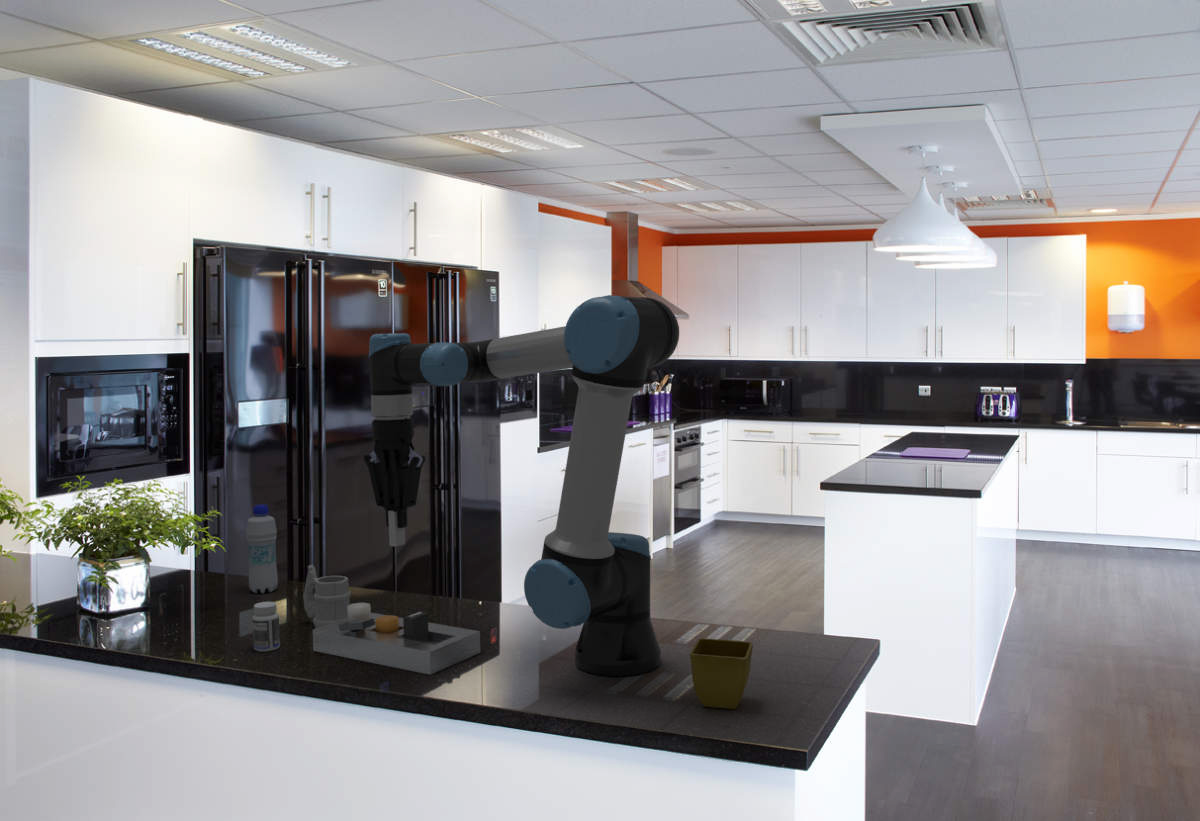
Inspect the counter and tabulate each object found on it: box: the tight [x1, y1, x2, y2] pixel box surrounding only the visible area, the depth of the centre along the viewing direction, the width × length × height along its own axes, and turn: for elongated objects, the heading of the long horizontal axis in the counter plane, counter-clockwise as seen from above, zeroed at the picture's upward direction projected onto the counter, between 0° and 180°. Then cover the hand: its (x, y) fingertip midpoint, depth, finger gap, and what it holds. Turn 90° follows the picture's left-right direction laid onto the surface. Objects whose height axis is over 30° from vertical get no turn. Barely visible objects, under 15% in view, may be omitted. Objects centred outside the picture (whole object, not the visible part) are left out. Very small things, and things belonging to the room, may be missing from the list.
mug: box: [302, 564, 352, 629], centre depth 209 cm, size 8×12×12 cm, turn 57°
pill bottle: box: [251, 601, 281, 653], centre depth 195 cm, size 5×5×8 cm
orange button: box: [376, 614, 400, 634], centre depth 193 cm, size 4×4×3 cm
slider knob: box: [402, 611, 429, 641], centre depth 189 cm, size 2×4×5 cm, turn 149°
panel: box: [312, 612, 481, 675], centre depth 192 cm, size 28×14×5 cm, turn 59°
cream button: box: [347, 602, 372, 621], centre depth 196 cm, size 4×4×3 cm
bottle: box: [245, 504, 279, 594], centre depth 238 cm, size 7×7×20 cm
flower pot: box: [689, 637, 754, 710], centre depth 163 cm, size 9×9×9 cm
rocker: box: [339, 618, 375, 631], centre depth 190 cm, size 6×3×1 cm, turn 59°
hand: (397, 544), depth 193 cm, fingers closed
